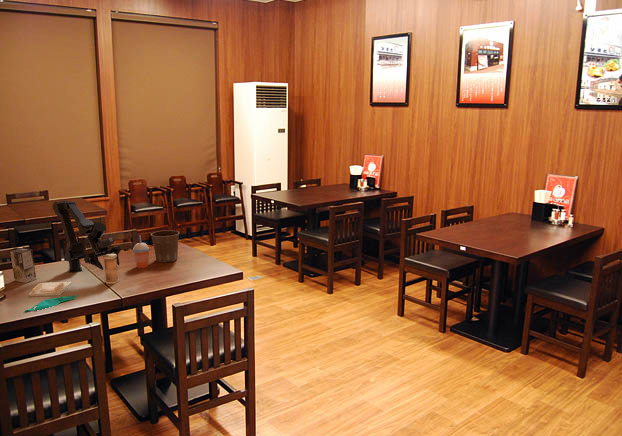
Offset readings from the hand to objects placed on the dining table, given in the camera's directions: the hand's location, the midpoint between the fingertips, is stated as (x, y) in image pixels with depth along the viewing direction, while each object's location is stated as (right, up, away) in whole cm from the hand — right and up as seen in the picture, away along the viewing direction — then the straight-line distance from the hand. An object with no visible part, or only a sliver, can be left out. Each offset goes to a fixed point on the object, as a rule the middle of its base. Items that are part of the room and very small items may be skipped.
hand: (111, 267), depth 259 cm
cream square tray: (-25, -10, -10) cm, 29 cm away
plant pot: (+17, 0, +40) cm, 43 cm away
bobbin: (0, -8, +2) cm, 8 cm away
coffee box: (-46, -7, +5) cm, 47 cm away
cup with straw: (+7, -2, +27) cm, 28 cm away
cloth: (-16, -15, -27) cm, 35 cm away
